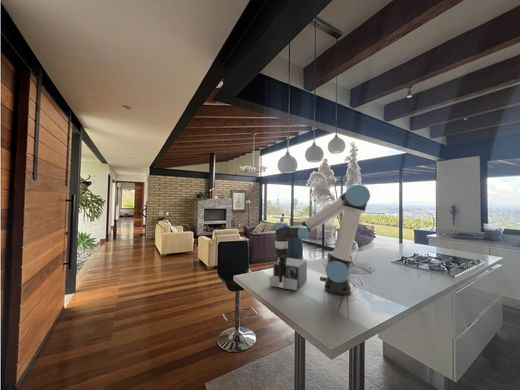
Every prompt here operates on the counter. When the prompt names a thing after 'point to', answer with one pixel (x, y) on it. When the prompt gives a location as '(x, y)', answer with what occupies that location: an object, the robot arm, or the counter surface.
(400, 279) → the counter surface
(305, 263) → the housing
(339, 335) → the counter surface
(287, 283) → the grey drawer
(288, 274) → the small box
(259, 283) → the counter surface
